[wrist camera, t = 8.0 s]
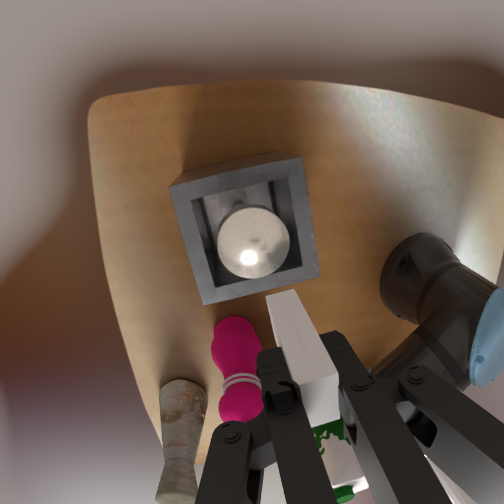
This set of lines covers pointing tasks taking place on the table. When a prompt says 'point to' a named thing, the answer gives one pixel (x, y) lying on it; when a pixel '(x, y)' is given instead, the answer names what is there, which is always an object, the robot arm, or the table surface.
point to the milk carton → (339, 460)
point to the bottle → (180, 440)
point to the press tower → (283, 205)
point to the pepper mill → (237, 369)
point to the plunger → (247, 231)
